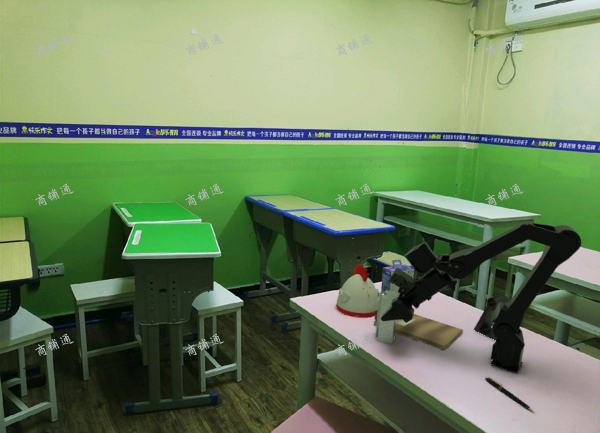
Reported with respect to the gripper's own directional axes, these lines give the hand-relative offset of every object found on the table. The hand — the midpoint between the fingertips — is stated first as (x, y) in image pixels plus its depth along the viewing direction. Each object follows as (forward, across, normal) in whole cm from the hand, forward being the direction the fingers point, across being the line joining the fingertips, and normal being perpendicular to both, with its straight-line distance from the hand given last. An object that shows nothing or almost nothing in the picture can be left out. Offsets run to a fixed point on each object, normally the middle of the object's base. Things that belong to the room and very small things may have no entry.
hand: (383, 315), depth 128 cm
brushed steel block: (+4, 0, +6) cm, 7 cm away
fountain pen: (-18, +15, +28) cm, 37 cm away
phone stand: (-16, -18, +26) cm, 35 cm away
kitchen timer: (+13, -16, -3) cm, 21 cm away
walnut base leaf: (-2, -10, +11) cm, 15 cm away
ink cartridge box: (+6, -29, +4) cm, 30 cm away
